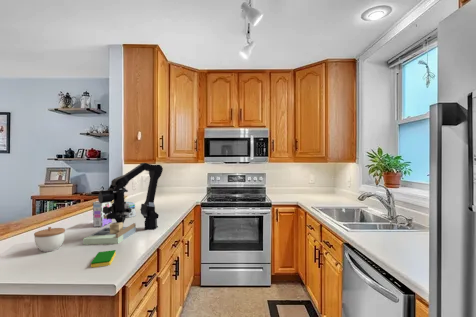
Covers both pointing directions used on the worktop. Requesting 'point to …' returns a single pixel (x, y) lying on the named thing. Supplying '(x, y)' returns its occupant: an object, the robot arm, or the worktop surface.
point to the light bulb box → (132, 206)
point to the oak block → (116, 227)
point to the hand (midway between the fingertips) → (120, 228)
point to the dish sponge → (103, 258)
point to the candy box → (100, 214)
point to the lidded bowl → (49, 239)
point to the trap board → (109, 236)
